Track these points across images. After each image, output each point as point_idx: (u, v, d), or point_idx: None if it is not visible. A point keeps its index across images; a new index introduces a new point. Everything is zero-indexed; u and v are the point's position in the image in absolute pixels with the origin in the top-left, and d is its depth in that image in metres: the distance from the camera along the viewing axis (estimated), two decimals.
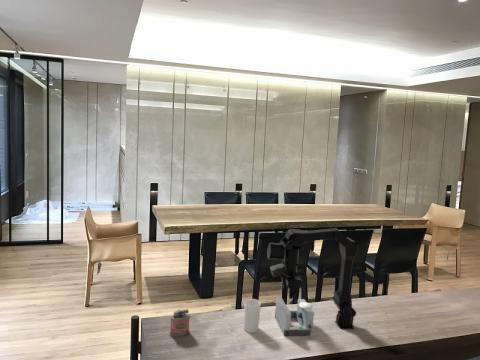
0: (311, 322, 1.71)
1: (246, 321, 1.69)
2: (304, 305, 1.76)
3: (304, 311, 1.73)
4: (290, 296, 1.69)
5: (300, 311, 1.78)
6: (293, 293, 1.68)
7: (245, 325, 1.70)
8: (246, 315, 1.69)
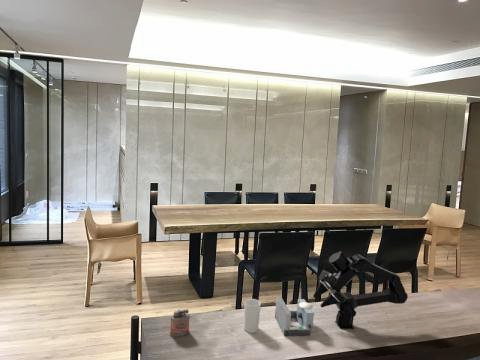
0: (311, 322, 1.71)
1: (246, 321, 1.69)
2: (304, 305, 1.76)
3: (304, 311, 1.73)
4: (323, 304, 1.72)
5: (300, 311, 1.78)
6: (327, 304, 1.72)
7: (245, 325, 1.70)
8: (246, 315, 1.69)
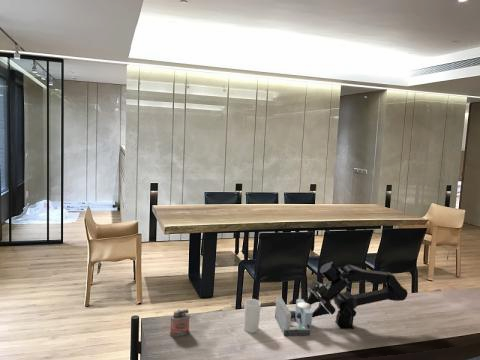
0: (310, 322, 1.71)
1: (246, 321, 1.69)
2: (303, 305, 1.76)
3: (303, 311, 1.72)
4: (313, 314, 1.72)
5: (299, 311, 1.78)
6: (317, 314, 1.72)
7: (245, 325, 1.70)
8: (246, 315, 1.69)
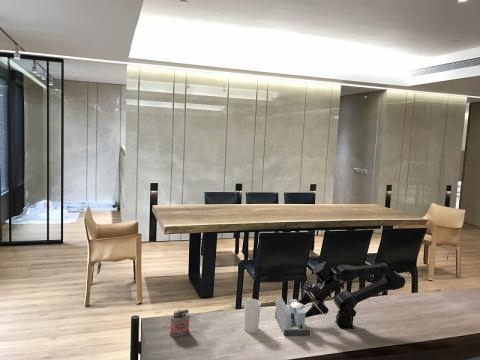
0: (303, 322, 1.70)
1: (246, 321, 1.69)
2: (296, 305, 1.75)
3: (296, 311, 1.72)
4: (306, 315, 1.71)
5: (292, 311, 1.78)
6: (310, 314, 1.71)
7: (245, 325, 1.70)
8: (246, 315, 1.69)
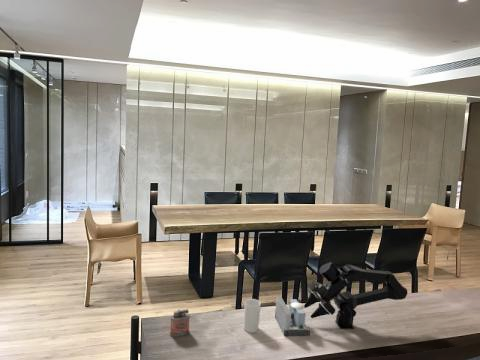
0: (303, 322, 1.70)
1: (246, 321, 1.69)
2: (296, 305, 1.75)
3: (296, 311, 1.72)
4: (313, 315, 1.72)
5: (292, 311, 1.78)
6: (317, 315, 1.72)
7: (245, 325, 1.70)
8: (246, 315, 1.69)
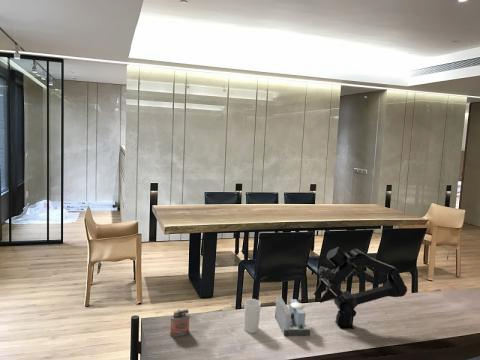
0: (303, 322, 1.70)
1: (246, 321, 1.69)
2: (296, 305, 1.75)
3: (296, 311, 1.72)
4: (321, 299, 1.71)
5: (292, 311, 1.78)
6: (325, 299, 1.71)
7: (245, 325, 1.70)
8: (246, 315, 1.69)
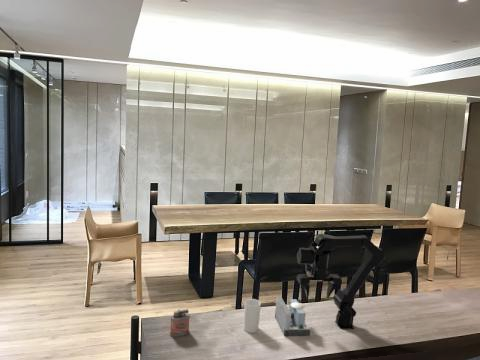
0: (303, 322, 1.70)
1: (246, 321, 1.69)
2: (296, 305, 1.75)
3: (296, 311, 1.72)
4: (306, 294, 1.76)
5: (292, 311, 1.78)
6: (306, 292, 1.74)
7: (245, 325, 1.70)
8: (246, 315, 1.69)
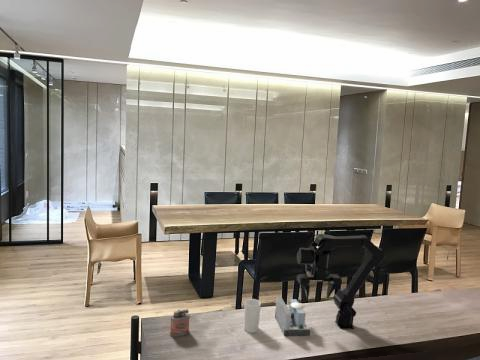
0: (303, 322, 1.70)
1: (246, 321, 1.69)
2: (296, 305, 1.75)
3: (296, 311, 1.72)
4: (306, 294, 1.76)
5: (292, 311, 1.78)
6: (306, 292, 1.74)
7: (245, 325, 1.70)
8: (246, 315, 1.69)
